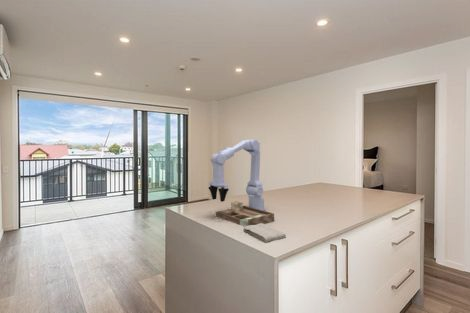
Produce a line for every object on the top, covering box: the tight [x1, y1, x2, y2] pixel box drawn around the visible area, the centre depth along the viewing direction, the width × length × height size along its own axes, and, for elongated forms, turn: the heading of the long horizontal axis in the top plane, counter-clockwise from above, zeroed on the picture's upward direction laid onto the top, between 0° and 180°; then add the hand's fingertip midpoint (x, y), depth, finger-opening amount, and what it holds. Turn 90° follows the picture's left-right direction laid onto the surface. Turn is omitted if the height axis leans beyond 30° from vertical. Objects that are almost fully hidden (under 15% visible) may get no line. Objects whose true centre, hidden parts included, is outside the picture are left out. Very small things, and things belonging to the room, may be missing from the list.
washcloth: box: [242, 223, 287, 243], centre depth 111 cm, size 12×18×3 cm, turn 31°
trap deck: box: [215, 205, 275, 227], centre depth 136 cm, size 18×28×4 cm, turn 40°
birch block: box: [230, 200, 244, 210], centre depth 147 cm, size 5×5×4 cm
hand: (218, 200), depth 136 cm, fingers open, 7 cm apart
